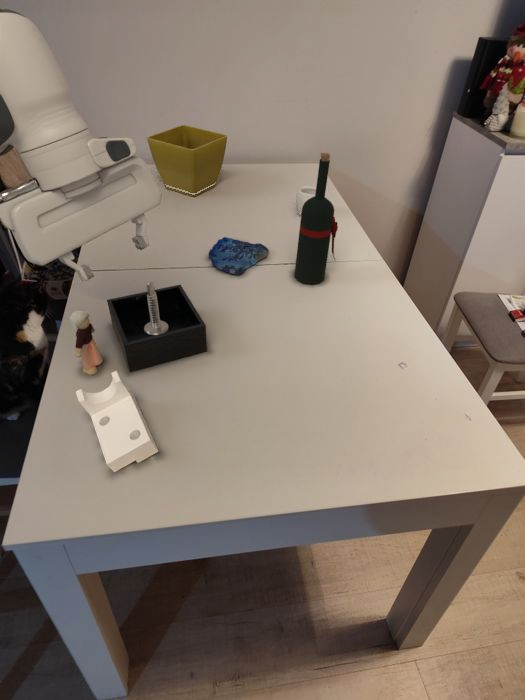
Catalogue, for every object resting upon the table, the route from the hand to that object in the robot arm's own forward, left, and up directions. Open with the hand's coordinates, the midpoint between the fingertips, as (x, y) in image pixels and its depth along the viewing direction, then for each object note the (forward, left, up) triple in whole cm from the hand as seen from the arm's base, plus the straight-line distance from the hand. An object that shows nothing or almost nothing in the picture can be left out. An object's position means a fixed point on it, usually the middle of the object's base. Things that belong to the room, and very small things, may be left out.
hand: (116, 262), depth 64 cm
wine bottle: (+50, +22, -27) cm, 61 cm away
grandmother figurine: (-7, +11, -27) cm, 29 cm away
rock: (+35, +38, -27) cm, 58 cm away
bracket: (-6, -9, -27) cm, 29 cm away
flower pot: (+40, +89, -27) cm, 101 cm away
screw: (+7, +13, -26) cm, 30 cm away
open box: (+7, +13, -26) cm, 30 cm away
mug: (+68, +57, -27) cm, 93 cm away
